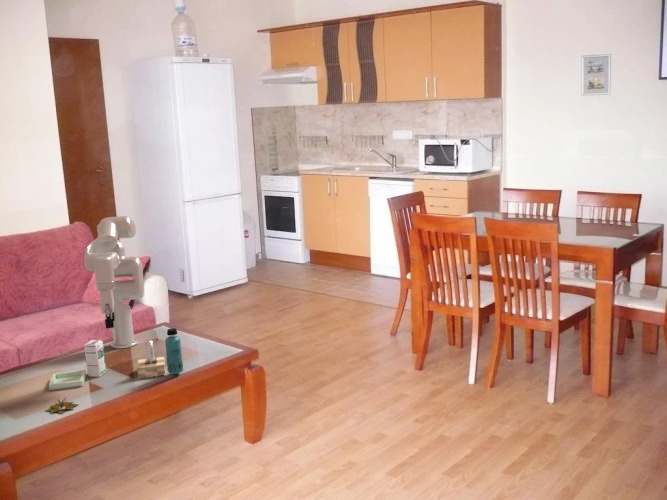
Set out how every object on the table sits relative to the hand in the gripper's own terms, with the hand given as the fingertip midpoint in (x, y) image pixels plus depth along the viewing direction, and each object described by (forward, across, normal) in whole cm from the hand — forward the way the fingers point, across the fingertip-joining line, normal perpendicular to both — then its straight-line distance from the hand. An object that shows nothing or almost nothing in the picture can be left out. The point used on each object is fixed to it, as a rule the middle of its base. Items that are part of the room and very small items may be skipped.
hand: (110, 324), depth 294 cm
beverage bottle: (+22, +11, +25) cm, 35 cm away
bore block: (+22, +5, +15) cm, 27 cm away
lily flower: (+22, +30, -19) cm, 42 cm away
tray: (+22, +3, -19) cm, 29 cm away
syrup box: (+22, -2, -8) cm, 24 cm away
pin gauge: (+22, +5, +15) cm, 27 cm away
